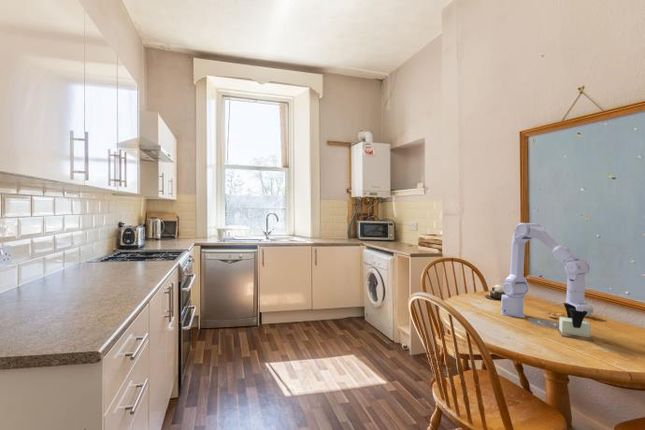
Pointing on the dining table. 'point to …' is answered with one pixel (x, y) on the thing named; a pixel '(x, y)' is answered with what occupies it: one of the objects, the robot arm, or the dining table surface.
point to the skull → (496, 293)
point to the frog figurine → (588, 310)
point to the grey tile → (543, 322)
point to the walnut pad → (574, 336)
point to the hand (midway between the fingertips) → (574, 324)
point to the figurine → (555, 315)
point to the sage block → (568, 328)
